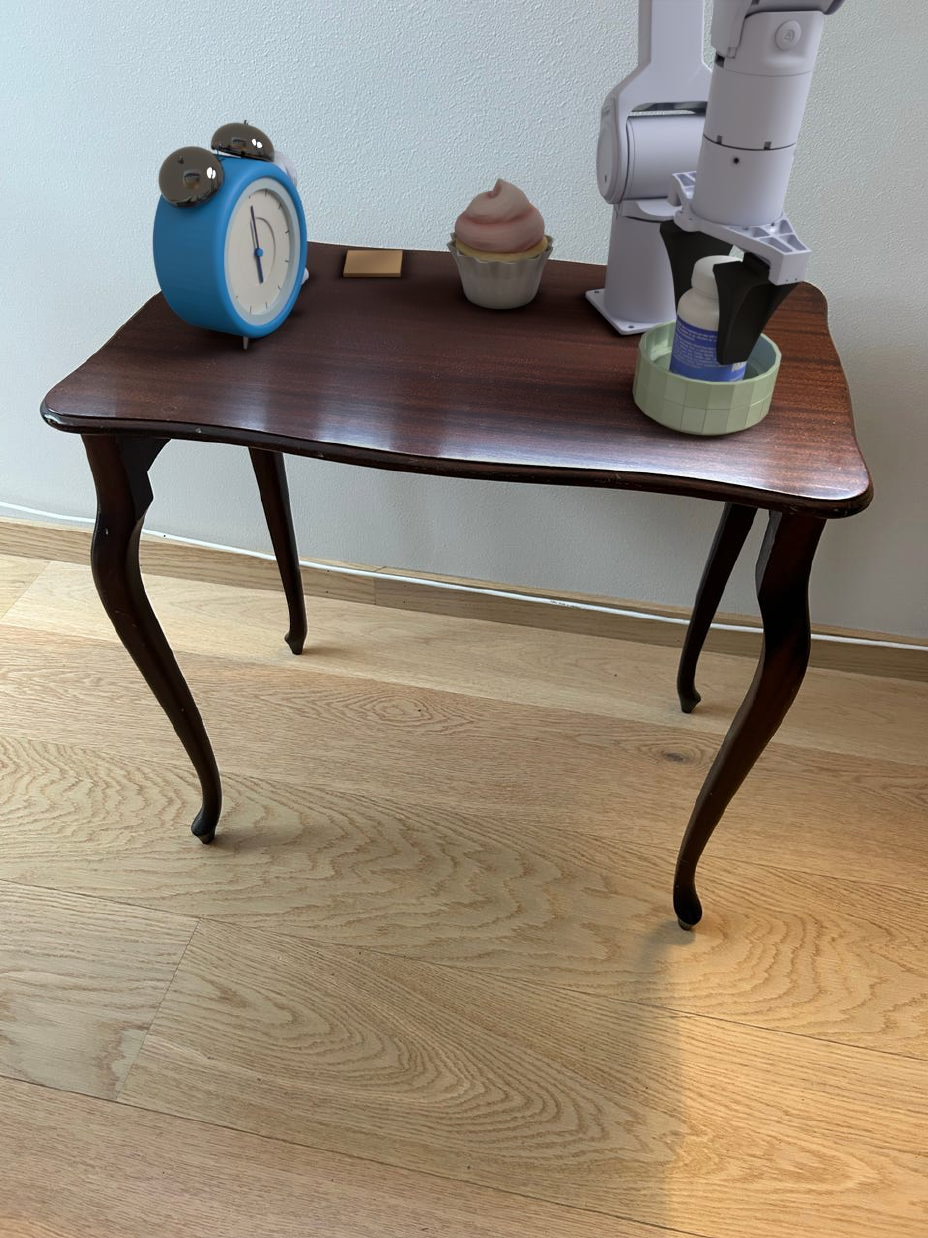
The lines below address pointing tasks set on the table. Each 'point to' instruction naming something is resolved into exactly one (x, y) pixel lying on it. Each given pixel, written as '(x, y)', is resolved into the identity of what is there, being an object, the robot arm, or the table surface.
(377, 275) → the coaster
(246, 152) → the alarm clock
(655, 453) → the table surface
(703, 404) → the bowl
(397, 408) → the table surface
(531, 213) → the cupcake
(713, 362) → the pill bottle
